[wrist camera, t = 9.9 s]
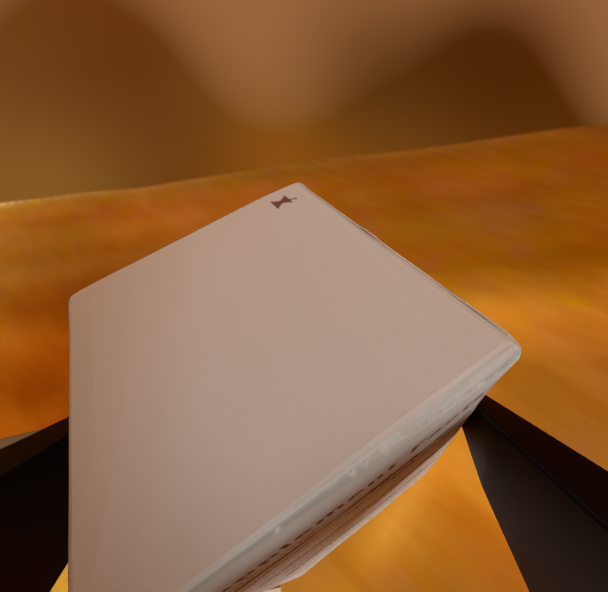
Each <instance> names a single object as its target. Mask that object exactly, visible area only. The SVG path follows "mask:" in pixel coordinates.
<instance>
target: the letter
mask: <svg viewBox="0 0 608 592" xmlns="http://www.w3.org/2000/svg"><path fill="white" fill-rule="evenodd" d="M264 592H282V591H281V586H278V587H274V588H271V589H269V590H266V591H264Z"/></svg>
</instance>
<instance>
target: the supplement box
mask: <svg viewBox="0 0 608 592" xmlns="http://www.w3.org/2000/svg"><path fill="white" fill-rule="evenodd" d="M68 308H69V532H68V592H264V591H266V590H269V589H271V588H274V587H276V586H279V585H280V584H283V583H285V582H288V581H290V580H293V579H295V578H298V577H300V576H302V575H303V574H304V573H305V572H307V571H308V570H309V569H310V568H312V567H313V566H314V565H315V564H316V563H318V562H319V561H320V560H321V559H322V558H324V557H325V556H326V555H327V554H329V553H330V552H331V551H332V550H334V549H335V548H336V547H337V546H339V545H340V544H341V543H342V542H344V541H345V540H346V539H347V538H349V537H350V536H351V535H352V534H353V533H355V532H356V531H357V530H358V529H360V528H361V527H362V526H363V525H365V524H366V523H367V522H368V521H369V520H371V519H372V518H373V517H374V516H376V515H377V514H378V513H379V512H381V511H382V510H383V509H384V508H385V507H386V506H388V505H389V504H390V503H391V502H392V501H394V500H395V499H396V498H397V497H398V496H400V495H401V494H402V493H403V492H404V491H406V490H407V489H408V488H409V487H410V486H412V485H413V484H414V483H415V482H416V481H417V480H419V479H420V478H421V477H422V476H423V475H424V474H426V473H427V471H428V470H429V469H430V467H431V466H432V465H433V464H434V463H435V462H436V461H437V459H438V458H439V457H440V455H441V454H442V453H443V451H444V450H445V449H446V447H447V446H448V445H449V443H450V442H451V441H452V439H453V438H454V436H455V435H456V433H457V432H458V430H459V429H460V428H461V426H462V425H463V424H464V422H465V421H466V420H467V419H468V417H469V416H470V415H471V413H472V412H473V411H474V409H475V408H476V406H477V405H478V404H479V402H480V401H481V400H482V398H483V397H484V396H485V395H486V393H487V392H488V391H489V390H490V389H491V387H492V386H493V385H494V384H495V383H496V382H497V381H498V380H499V379H500V377H501V376H502V375H503V374H504V373H505V372H506V371H507V370H508V369H509V368H510V367H511V366H513V365H514V364H515V363H516V362H517V361H518V360H519V357H520V355H521V346H520V345H519V344H518V343H517V342H516V340H515V339H514V338H513V337H512V336H511V335H510V334H509V333H508V332H507V331H505V330H504V329H503V328H502V327H500V326H499V325H497V324H496V323H494V322H493V321H491V320H490V319H489V318H487V317H486V316H485V315H483V314H482V313H481V312H479V311H478V310H477V309H475V308H474V307H472V306H471V305H470V304H468V303H467V302H465V301H464V300H462V299H461V298H459V297H458V296H456V295H455V294H453V293H452V292H450V291H449V290H447V289H446V288H445V287H443V286H442V285H441V284H439V283H438V282H437V281H435V280H434V279H433V278H431V277H430V276H428V275H427V274H426V273H424V272H423V271H422V270H420V269H419V268H417V267H416V266H415V265H413V264H412V263H410V262H409V261H408V260H406V259H405V258H403V257H402V256H401V255H399V254H398V253H396V252H395V251H394V250H392V249H391V248H389V247H388V246H387V245H385V244H384V243H383V242H381V241H380V240H379V239H378V238H377V237H376V236H374V235H373V234H372V233H370V232H369V231H367V230H366V229H364V228H363V227H361V226H359V225H358V224H356V223H355V222H353V221H352V220H351V219H349V218H348V217H347V216H345V215H344V214H342V213H341V212H339V211H338V210H337V209H335V208H334V207H332V206H331V205H330V204H328V203H327V202H326V201H324V200H323V199H322V198H320V197H319V196H318V195H316V194H315V193H313V192H312V191H310V190H309V189H308V188H307V187H306V186H304V185H303V184H302V183H294V184H292V185H289V186H287V187H284V188H282V189H280V190H277V191H275V192H273V193H270V194H268V195H266V196H264V197H262V198H260V199H258V200H256V201H254V202H252V203H250V204H248V205H246V206H244V207H242V208H240V209H238V210H236V211H234V212H232V213H230V214H228V215H226V216H224V217H222V218H220V219H218V220H216V221H214V222H212V223H211V224H209V225H207V226H205V227H203V228H201V229H199V230H197V231H195V232H193V233H191V234H189V235H187V236H185V237H183V238H181V239H179V240H177V241H175V242H173V243H171V244H169V245H167V246H165V247H163V248H161V249H159V250H158V251H156V252H154V253H152V254H150V255H148V256H146V257H144V258H142V259H140V260H138V261H136V262H134V263H132V264H130V265H128V266H126V267H124V268H122V269H120V270H118V271H116V272H114V273H112V274H110V275H108V276H106V277H104V278H102V279H100V280H98V281H96V282H94V283H93V284H91V285H89V286H87V287H85V288H84V289H82V290H80V291H78V292H77V293H75V294H73V295H72V296H71V297H70V299H69V303H68Z"/></svg>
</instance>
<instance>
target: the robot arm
mask: <svg viewBox="0 0 608 592" xmlns="http://www.w3.org/2000/svg"><path fill="white" fill-rule="evenodd" d="M462 428H463V431H464V434H465V437H466V440H467V443H468V446H469V449H470V452H471V455H472V458H473V461H474V464H475V467H476V470H477V473H478V476H479V479H480V482H481V484H482V487H483V489H484V492H485V494H486V496H487V498H488V501H489V503H490V505H491V507H492V510H493V512H494V514H495V516H496V518H497V521H498V523H499V525H500V527H501V530H502V532H503V534H504V536H505V538H506V541H507V543H508V545H509V547H510V549H511V552H512V554H513V556H514V558H515V561H516V563H517V565H518V567H519V569H520V572H521V574H522V576H523V578H524V580H525V583H526V585H527V587H528V589H529V592H608V471H607V470H605V469H603V468H602V467H600V466H599V465H597V464H595V463H594V462H592V461H591V460H589V459H587V458H586V457H584V456H583V455H581V454H579V453H578V452H576V451H575V450H573V449H571V448H570V447H568V446H566V445H565V444H563V443H562V442H560V441H558V440H557V439H555V438H554V437H552V436H550V435H549V434H547V433H546V432H544V431H542V430H541V429H539V428H538V427H536V426H534V425H533V424H531V423H530V422H528V421H526V420H525V419H523V418H522V417H520V416H518V415H517V414H515V413H514V412H512V411H510V410H509V409H507V408H506V407H504V406H502V405H501V404H499V403H498V402H496V401H494V400H493V399H491V398H490V397H488V396H486V395H485V396H484V397H483V398H482V400H481V401H480V402H479V404H478V405H477V406H476V408H475V409H474V411H473V412H472V413H471V415H470V416H469V417H468V419H467V420H466V421H465V422H464V424H463V425H462ZM68 532H69V417H68V418H66V419H63V420H61V421H59V422H57V423H55V424H53V425H51V426H49V427H46V428H44V429H42V430H40V431H38V432H36V433H34V434H31V435H29V436H27V437H25V438H23V439H21V440H19V441H16V442H14V443H12V444H10V445H8V446H6V447H4V448H2V449H0V592H50V591H51V589H52V587H53V586H54V584H55V583H56V581H57V579H58V578H59V576H60V575H61V573H62V571H63V570H64V568H65V567H66V565H67V563H68Z"/></svg>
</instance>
